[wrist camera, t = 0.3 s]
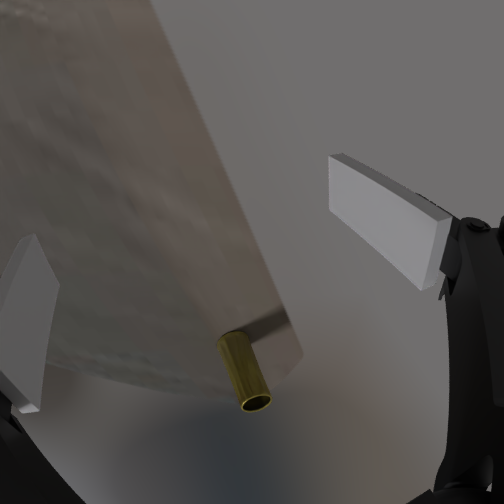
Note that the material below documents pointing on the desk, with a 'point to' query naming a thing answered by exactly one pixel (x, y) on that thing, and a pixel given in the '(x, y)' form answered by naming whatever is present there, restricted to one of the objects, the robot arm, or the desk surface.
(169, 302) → the desk surface
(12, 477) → the robot arm
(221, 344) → the vase
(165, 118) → the desk surface
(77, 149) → the desk surface
